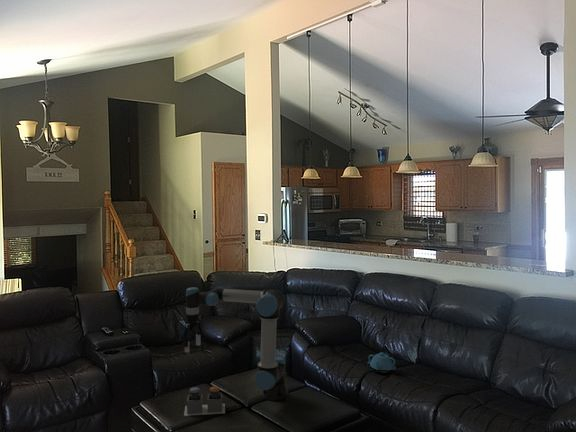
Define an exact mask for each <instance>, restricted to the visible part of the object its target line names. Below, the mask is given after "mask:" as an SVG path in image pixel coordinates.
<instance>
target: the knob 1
mask: <svg viewBox="0 0 576 432" xmlns="http://www.w3.org/2000/svg"><path fill="white" fill-rule="evenodd" d="M200 390H201V389H200V388H199V387H191V388H190V389H189V393H190V395H191V400H199V394H200Z"/></svg>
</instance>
